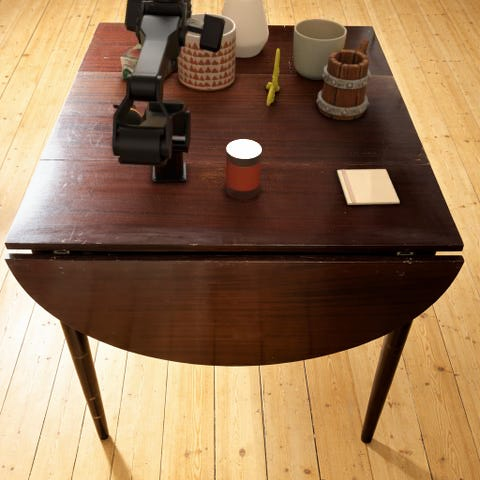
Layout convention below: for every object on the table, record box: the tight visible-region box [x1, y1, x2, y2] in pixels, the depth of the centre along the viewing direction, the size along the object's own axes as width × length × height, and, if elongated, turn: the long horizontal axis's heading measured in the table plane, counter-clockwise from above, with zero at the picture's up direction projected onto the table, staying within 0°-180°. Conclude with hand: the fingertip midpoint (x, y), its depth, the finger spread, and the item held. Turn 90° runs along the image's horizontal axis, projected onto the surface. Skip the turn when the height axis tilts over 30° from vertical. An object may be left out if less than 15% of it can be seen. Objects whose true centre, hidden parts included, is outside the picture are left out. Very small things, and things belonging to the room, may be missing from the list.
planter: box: [292, 18, 348, 81], centre depth 148 cm, size 12×12×11 cm
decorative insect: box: [265, 48, 281, 107], centre depth 141 cm, size 13×3×10 cm
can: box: [225, 139, 262, 201], centre depth 114 cm, size 6×6×9 cm
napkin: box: [336, 168, 400, 206], centre depth 119 cm, size 11×10×1 cm
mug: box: [316, 38, 372, 121], centre depth 136 cm, size 12×14×15 cm
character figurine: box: [112, 103, 142, 125], centre depth 132 cm, size 10×6×12 cm
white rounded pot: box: [220, 0, 270, 59], centre depth 155 cm, size 13×13×14 cm
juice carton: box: [119, 43, 178, 80], centre depth 149 cm, size 20×10×6 cm, turn 156°
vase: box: [177, 12, 236, 92], centre depth 144 cm, size 14×14×13 cm
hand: (180, 19), depth 124 cm, fingers open, 9 cm apart
